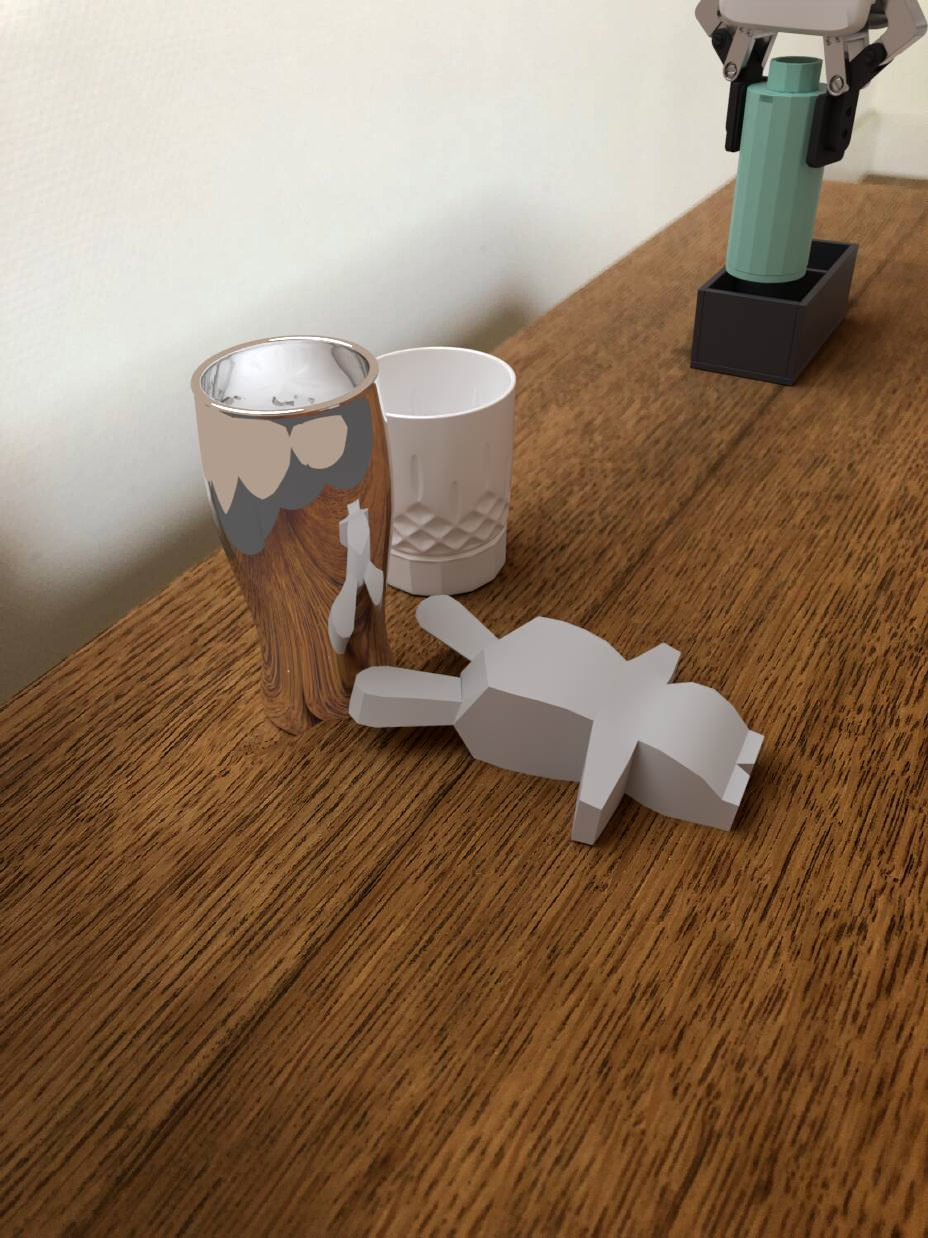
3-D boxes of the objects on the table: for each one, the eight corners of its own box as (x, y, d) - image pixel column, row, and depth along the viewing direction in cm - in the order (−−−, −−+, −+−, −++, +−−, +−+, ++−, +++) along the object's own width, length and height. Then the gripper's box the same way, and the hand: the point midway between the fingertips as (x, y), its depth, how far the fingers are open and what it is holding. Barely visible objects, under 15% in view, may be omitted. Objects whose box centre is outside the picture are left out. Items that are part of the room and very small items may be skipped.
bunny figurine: (729, 833, 32) (326, 669, 37) (694, 925, 36) (328, 764, 40) (792, 660, 39) (445, 539, 44) (758, 751, 42) (438, 630, 47)
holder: (844, 317, 78) (859, 243, 74) (792, 386, 68) (806, 305, 65) (751, 303, 81) (761, 231, 77) (689, 367, 71) (697, 288, 68)
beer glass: (238, 663, 46) (171, 349, 37) (385, 627, 48) (355, 320, 39) (268, 766, 41) (199, 431, 32) (432, 722, 43) (410, 393, 34)
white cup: (430, 626, 48) (417, 434, 42) (334, 559, 53) (310, 379, 47) (548, 561, 52) (552, 378, 46) (448, 505, 57) (440, 333, 51)
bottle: (755, 252, 71) (784, 50, 64) (821, 269, 68) (859, 58, 61) (709, 270, 69) (734, 60, 61) (775, 288, 65) (809, 70, 58)
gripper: (1035, -228, 50) (941, 167, 61) (745, -207, 60) (709, 126, 71) (959, -230, 46) (873, 192, 57) (663, -208, 57) (638, 145, 67)
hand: (783, 152), depth 64 cm, fingers closed on bottle, 5 cm apart
